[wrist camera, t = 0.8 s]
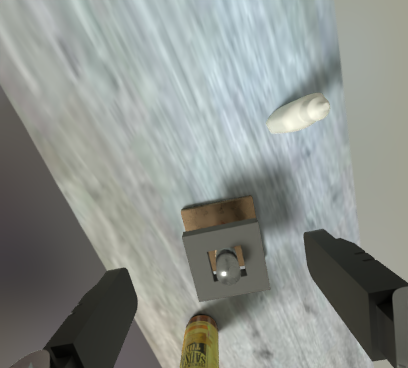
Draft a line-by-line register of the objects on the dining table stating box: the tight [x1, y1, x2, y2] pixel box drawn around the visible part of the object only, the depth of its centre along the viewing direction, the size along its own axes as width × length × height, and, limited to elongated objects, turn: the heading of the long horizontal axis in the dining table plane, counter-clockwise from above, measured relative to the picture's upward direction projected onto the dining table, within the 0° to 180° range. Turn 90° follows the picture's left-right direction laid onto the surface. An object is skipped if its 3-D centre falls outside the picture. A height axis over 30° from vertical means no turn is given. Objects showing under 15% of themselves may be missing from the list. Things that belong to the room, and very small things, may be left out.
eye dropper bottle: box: [266, 93, 330, 134], centre depth 26 cm, size 4×6×12 cm
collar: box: [182, 218, 270, 302], centre depth 29 cm, size 10×10×2 cm
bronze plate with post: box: [181, 195, 256, 285], centre depth 31 cm, size 12×12×11 cm
